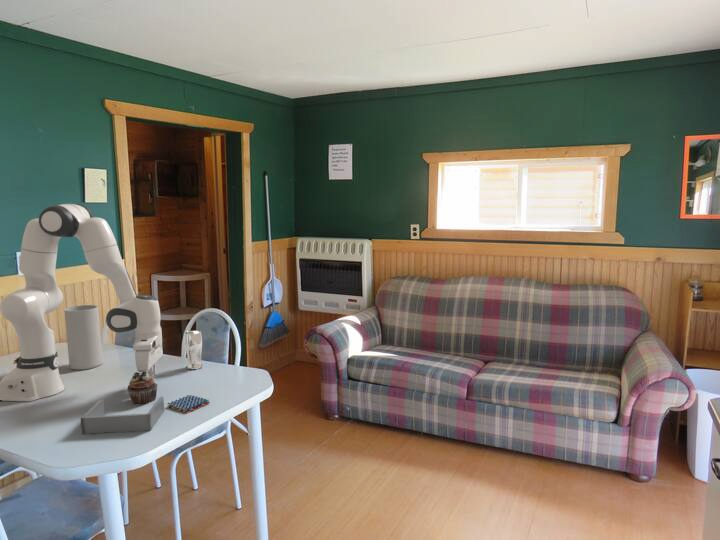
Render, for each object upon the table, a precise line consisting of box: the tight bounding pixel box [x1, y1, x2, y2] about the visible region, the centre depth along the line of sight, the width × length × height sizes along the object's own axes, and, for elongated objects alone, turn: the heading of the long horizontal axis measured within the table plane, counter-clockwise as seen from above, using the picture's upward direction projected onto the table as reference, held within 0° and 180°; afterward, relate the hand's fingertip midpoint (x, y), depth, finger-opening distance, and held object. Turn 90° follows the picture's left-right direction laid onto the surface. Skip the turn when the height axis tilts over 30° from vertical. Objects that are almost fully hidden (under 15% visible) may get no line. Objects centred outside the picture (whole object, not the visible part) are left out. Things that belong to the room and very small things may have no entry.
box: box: [80, 396, 165, 435], centre depth 167 cm, size 20×15×5 cm
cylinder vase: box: [64, 304, 103, 371], centre depth 224 cm, size 12×12×25 cm
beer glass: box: [183, 330, 203, 370], centre depth 220 cm, size 7×7×15 cm
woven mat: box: [167, 394, 211, 414], centre depth 180 cm, size 10×11×2 cm
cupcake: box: [127, 371, 158, 405], centre depth 185 cm, size 10×10×10 cm
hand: (151, 376), depth 195 cm, fingers closed
